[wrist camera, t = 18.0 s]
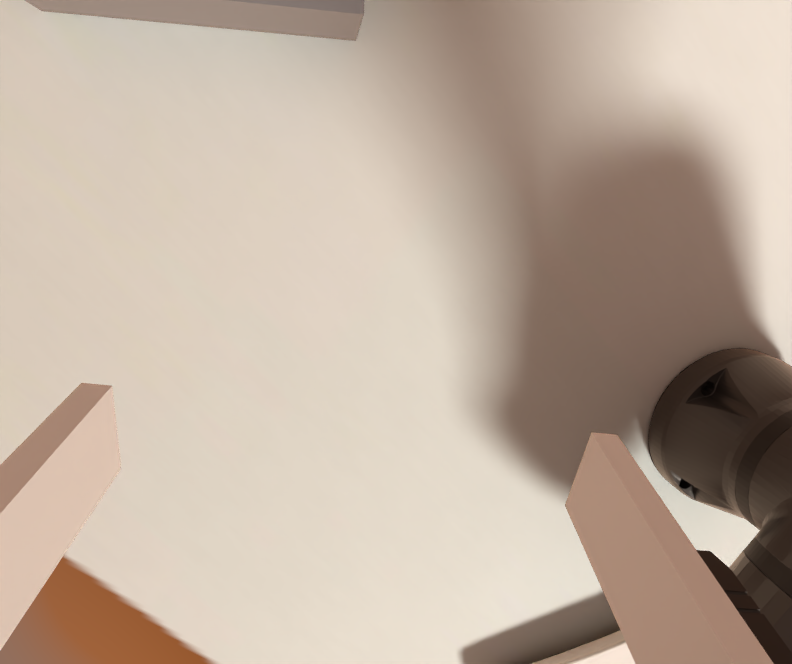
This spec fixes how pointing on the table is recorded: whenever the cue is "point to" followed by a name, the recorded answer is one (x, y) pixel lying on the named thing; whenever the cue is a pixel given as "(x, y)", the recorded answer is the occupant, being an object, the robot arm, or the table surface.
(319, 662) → the table surface
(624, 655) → the square plate
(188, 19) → the tote
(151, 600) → the table surface
